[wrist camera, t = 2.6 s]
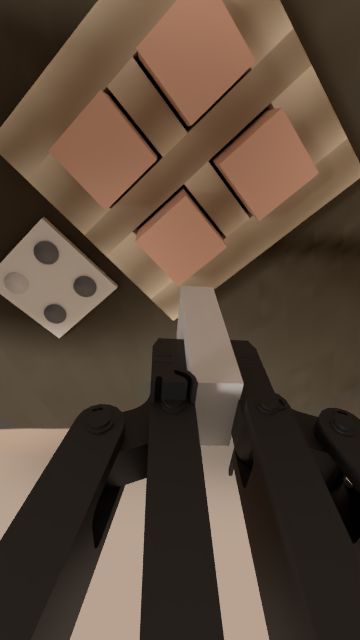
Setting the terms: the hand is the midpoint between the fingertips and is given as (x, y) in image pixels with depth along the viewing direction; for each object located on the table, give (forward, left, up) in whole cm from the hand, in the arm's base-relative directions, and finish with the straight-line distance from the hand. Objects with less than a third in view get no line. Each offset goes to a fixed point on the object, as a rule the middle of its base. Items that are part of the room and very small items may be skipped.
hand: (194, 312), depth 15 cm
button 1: (-8, 0, -14) cm, 16 cm away
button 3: (-8, +8, -14) cm, 18 cm away
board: (-4, +4, -16) cm, 17 cm away
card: (-4, -13, -16) cm, 21 cm away
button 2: (0, 0, -14) cm, 14 cm away
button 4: (0, +8, -14) cm, 16 cm away
